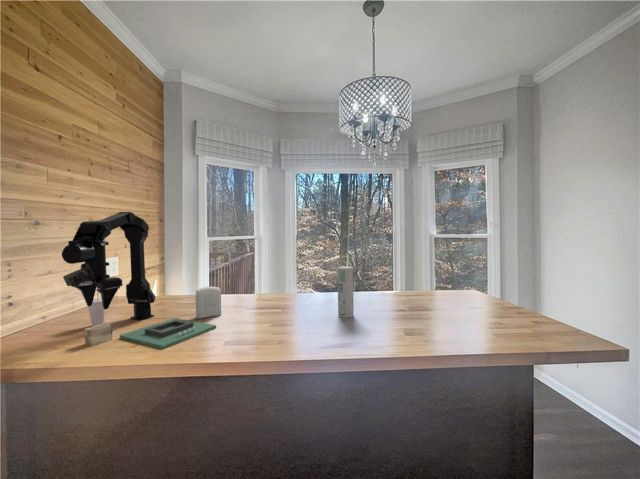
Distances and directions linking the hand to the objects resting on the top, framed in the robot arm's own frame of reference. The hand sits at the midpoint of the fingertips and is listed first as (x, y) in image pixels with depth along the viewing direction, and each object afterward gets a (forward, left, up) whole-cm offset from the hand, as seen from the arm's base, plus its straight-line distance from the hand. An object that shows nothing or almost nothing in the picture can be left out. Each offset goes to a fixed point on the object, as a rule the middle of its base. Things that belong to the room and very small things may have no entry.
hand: (97, 307), depth 105 cm
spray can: (+62, +62, -12) cm, 88 cm away
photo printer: (+11, +37, -12) cm, 40 cm away
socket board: (+14, +16, -11) cm, 24 cm away
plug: (0, 0, -12) cm, 12 cm away
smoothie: (-19, +10, -12) cm, 24 cm away
